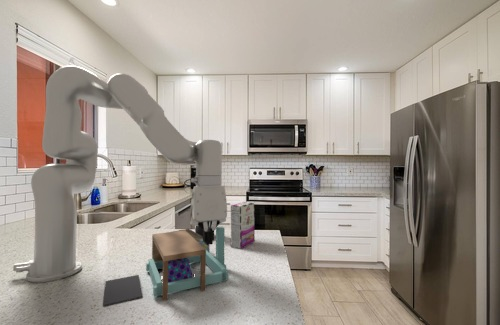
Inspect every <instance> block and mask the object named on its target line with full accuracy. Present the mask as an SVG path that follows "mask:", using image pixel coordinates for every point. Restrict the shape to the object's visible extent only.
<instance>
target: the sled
mask: <svg viewBox="0 0 500 325" xmlns="http://www.w3.org/2000/svg"><path fill="white" fill-rule="evenodd" d="M225 230H226V229H225V227H224V226H217V227H216V229H215V257H214V256H213V255H212V254H211V253H210V252H208V251H207V250H206V265H207V266H208V268H209V269H210V270H211V271H212V272H213V273H207V274H205V286H206V285H211V284H215V283H219V282H222V281H223V282H224V281H227V280H229V271H228V270H227V264H226V263H225ZM187 258H188V260H189V262H190V264H193V263H198V262H200V255H199V256H193V257H187ZM145 269H146V272H149V276H150V279H151V282H152V293H153V294H152V295H153V298H154V297H155V298H157V297H160V296H163V284H162V282H163V281H161V278H160V275H159V274H160V273H159V271H158V270H161V269H162V270H163V260H161V261H155V262H154V260H153V258H152V257H151V258H149V259H148V262H146V263H145ZM198 287H200V276H198V277H193V278H188V279H184V280H179V281H175V282H170V283H168V295H169V294H173V293H176V292H181V291H185V290H188V289H193V288H198Z"/></svg>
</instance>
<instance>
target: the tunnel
mask: <svg viewBox="0 0 500 325" xmlns="http://www.w3.org/2000/svg"><path fill="white" fill-rule="evenodd" d="M183 230H184V231H179V230H174V231H175V232H173V231H168V232H160V233H152V236H151V237H152V238H151V239H152V240H151V242H152V243H151V245H152V246H151V259H152V258H153V260H154V262H155V261H161V260H163V268H162V272H163V281H162V282H163V295H161V296H162V301H163V302H164V301H168V299H169V297H168V296H169V294H168V261H170V260H176V259H181V258H187V257H193V256H199V255H200V261H199V262H200V264H199V265H200V266H199V267H200V269H199V273H200V286H199V288H200V292H205V291H206V285H205V275H206V265H207V264H206V249H205V248H204V247H203V246H202V245H201V244H199V243H198V242H197V241H196V240H195V239H194V238H193V237H192V236H191V235H190V234H189V233H188V232H186V231H185V229H183Z"/></svg>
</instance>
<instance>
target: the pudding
mask: <svg viewBox="0 0 500 325" xmlns="http://www.w3.org/2000/svg"><path fill="white" fill-rule="evenodd" d="M193 274H195V277H198V276H200V270H198V269H195V268H192V267H191V263H190V262H189V260H188V258H181V259H176V260H170V261H168V283H170V282H175V281H179V280H184V279H188V278H193ZM159 275H160V278H161V276H163V271H161V272H160V273H159ZM162 280H163V279H162ZM162 284H163V283H162Z"/></svg>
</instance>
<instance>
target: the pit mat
mask: <svg viewBox="0 0 500 325" xmlns="http://www.w3.org/2000/svg"><path fill="white" fill-rule="evenodd" d="M139 276H140V275H139V274H136V275H130V276H125V277H120V278H114V279H109V280H105V283H104V292H103V301H102V307H108V306H112V305H115V304H120V303H123V302H124V303H125V302H129V301H132V300H138V299H142V298H143V291H142V286H141V280H140V277H139Z"/></svg>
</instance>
